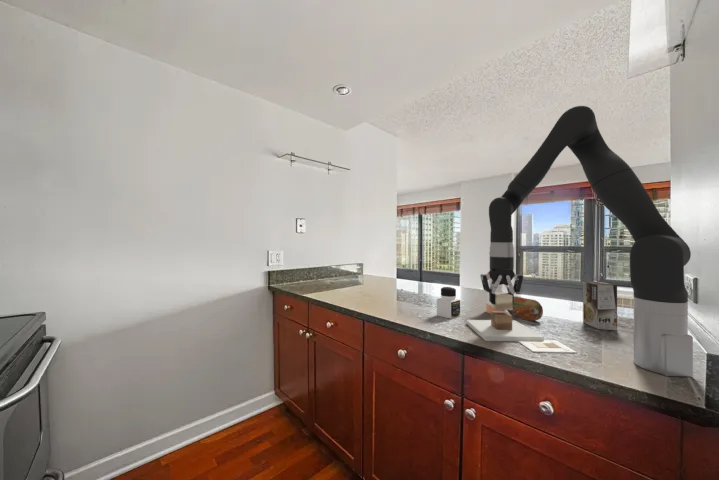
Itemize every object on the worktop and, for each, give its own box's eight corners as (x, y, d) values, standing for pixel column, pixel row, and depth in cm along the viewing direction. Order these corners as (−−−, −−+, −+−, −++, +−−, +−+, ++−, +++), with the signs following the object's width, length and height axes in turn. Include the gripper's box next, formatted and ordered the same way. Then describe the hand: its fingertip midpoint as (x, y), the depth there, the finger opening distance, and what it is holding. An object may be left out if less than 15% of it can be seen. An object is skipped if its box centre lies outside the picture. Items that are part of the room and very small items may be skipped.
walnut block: (512, 330, 94) (512, 315, 94) (497, 329, 95) (497, 315, 95) (505, 325, 99) (505, 311, 99) (491, 325, 100) (490, 311, 100)
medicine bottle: (451, 319, 113) (451, 289, 113) (436, 315, 118) (436, 287, 118) (460, 316, 117) (460, 287, 117) (445, 312, 123) (445, 285, 123)
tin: (505, 313, 121) (505, 294, 121) (510, 313, 122) (510, 294, 122) (538, 323, 106) (538, 301, 106) (544, 322, 108) (544, 301, 108)
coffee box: (618, 330, 98) (618, 284, 98) (597, 329, 99) (597, 284, 99) (601, 323, 107) (601, 281, 107) (582, 322, 108) (582, 280, 108)
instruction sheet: (576, 353, 79) (576, 351, 79) (533, 352, 79) (533, 350, 79) (555, 341, 88) (555, 340, 88) (516, 340, 88) (516, 339, 88)
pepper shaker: (493, 315, 118) (493, 270, 118) (482, 310, 125) (482, 268, 125) (508, 314, 120) (508, 269, 120) (496, 310, 127) (496, 268, 127)
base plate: (543, 341, 88) (543, 337, 88) (485, 340, 88) (485, 336, 88) (514, 324, 106) (514, 320, 106) (466, 323, 106) (466, 319, 106)
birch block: (512, 310, 94) (512, 295, 94) (497, 309, 95) (497, 295, 95) (505, 306, 99) (505, 292, 99) (491, 306, 100) (491, 292, 100)
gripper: (484, 256, 94) (484, 306, 94) (528, 256, 93) (528, 307, 93) (476, 254, 101) (476, 301, 101) (517, 254, 100) (517, 301, 100)
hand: (501, 303), depth 97 cm, fingers closed on birch block, 5 cm apart
